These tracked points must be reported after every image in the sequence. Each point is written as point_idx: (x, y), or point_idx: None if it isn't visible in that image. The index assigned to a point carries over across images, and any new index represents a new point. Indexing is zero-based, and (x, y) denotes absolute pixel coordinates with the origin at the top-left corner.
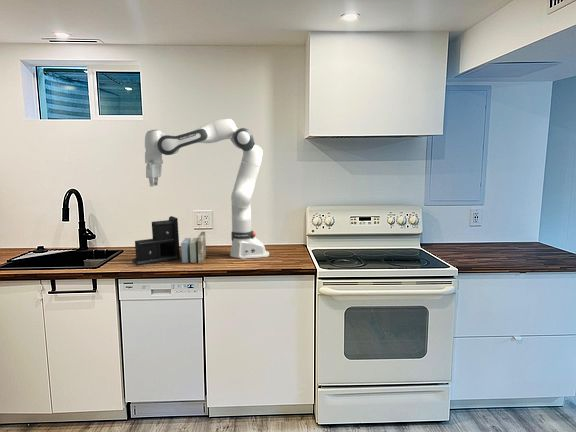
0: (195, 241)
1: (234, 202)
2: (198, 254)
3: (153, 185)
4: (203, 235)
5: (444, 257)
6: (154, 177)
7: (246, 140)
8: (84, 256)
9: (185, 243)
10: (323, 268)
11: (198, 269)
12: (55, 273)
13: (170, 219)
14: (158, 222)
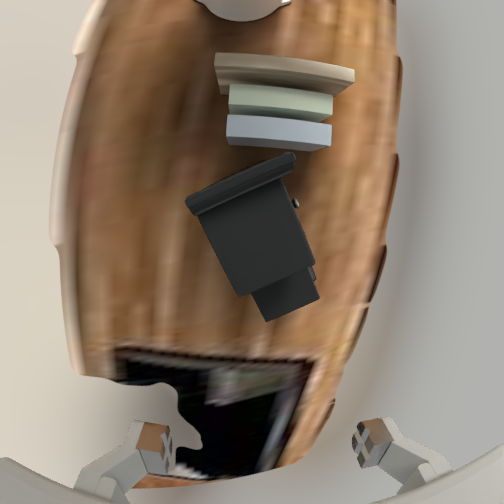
0: (310, 93)
1: None
2: (333, 97)
3: (377, 422)
4: (282, 58)
5: None
6: (451, 474)
7: None
8: (183, 410)
9: (331, 130)
10: None
11: (387, 110)
12: (330, 409)
13: (227, 200)
14: (279, 257)
